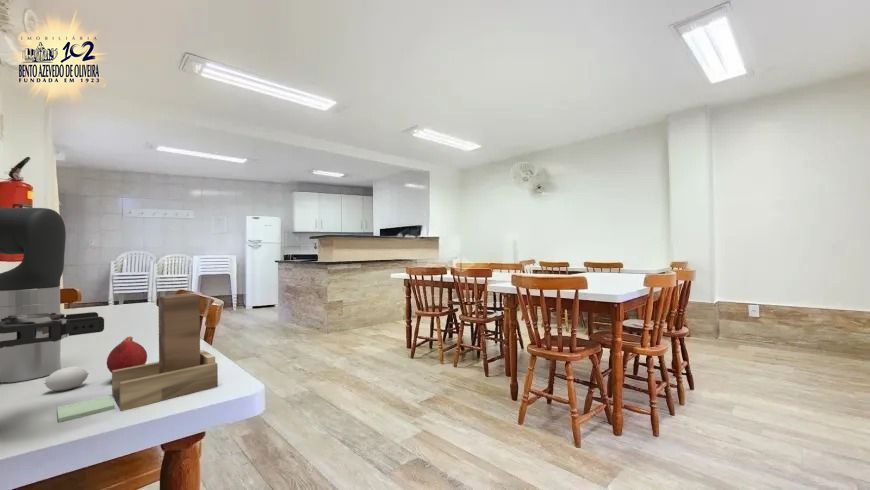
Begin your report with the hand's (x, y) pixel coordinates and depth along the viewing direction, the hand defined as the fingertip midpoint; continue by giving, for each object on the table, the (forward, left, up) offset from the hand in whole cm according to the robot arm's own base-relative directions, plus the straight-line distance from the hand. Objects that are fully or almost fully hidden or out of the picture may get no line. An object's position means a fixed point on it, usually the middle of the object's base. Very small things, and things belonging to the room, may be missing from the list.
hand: (100, 321), depth 57 cm
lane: (0, +8, -13) cm, 15 cm away
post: (0, +10, -11) cm, 15 cm away
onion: (-13, +5, -13) cm, 19 cm away
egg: (-15, -3, -13) cm, 21 cm away
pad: (0, -2, -13) cm, 13 cm away
